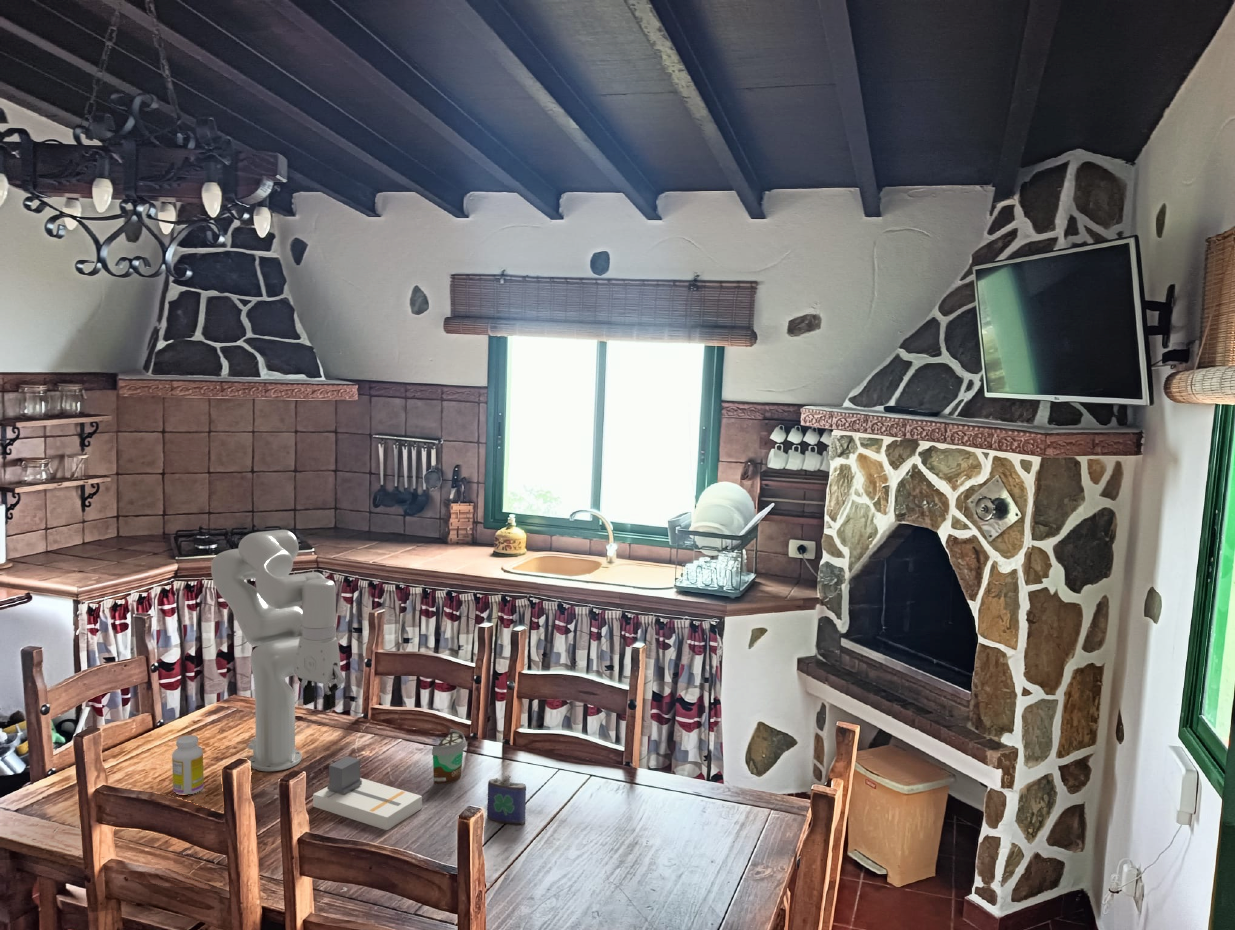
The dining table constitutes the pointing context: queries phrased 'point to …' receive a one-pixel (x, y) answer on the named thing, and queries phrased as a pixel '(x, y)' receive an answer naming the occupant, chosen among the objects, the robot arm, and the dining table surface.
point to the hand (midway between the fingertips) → (319, 705)
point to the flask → (506, 801)
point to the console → (370, 804)
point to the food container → (448, 758)
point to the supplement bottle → (187, 766)
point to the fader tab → (344, 775)
